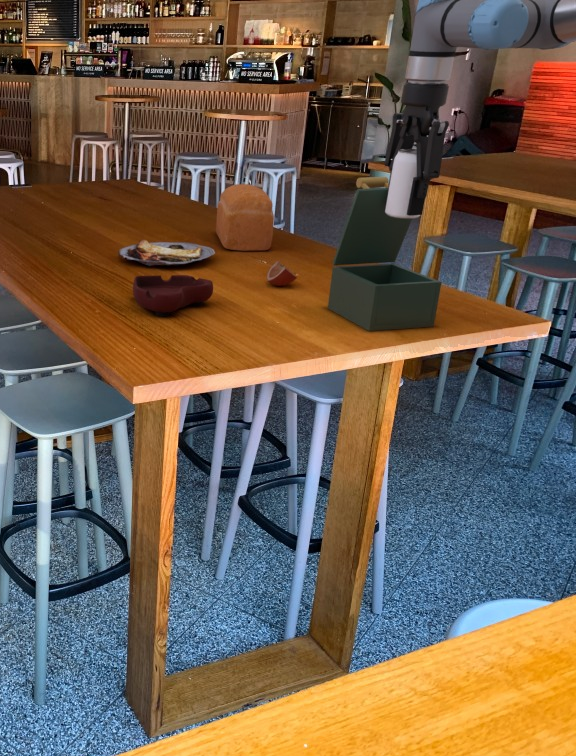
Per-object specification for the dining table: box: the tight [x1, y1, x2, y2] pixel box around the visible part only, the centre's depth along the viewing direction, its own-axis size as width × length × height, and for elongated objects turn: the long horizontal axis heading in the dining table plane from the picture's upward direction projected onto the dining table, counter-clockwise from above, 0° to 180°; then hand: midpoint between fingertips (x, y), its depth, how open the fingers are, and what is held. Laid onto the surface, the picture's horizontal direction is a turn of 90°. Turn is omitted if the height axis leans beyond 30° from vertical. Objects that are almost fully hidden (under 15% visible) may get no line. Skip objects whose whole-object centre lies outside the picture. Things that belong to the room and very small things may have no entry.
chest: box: [327, 262, 443, 332], centre depth 159 cm, size 16×14×9 cm
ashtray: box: [132, 274, 214, 318], centre depth 169 cm, size 18×16×5 cm
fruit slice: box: [266, 260, 298, 287], centre depth 184 cm, size 8×7×5 cm
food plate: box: [117, 239, 216, 267], centre depth 209 cm, size 25×23×4 cm
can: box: [385, 148, 424, 220], centre depth 149 cm, size 6×6×12 cm
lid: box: [332, 176, 413, 266], centre depth 162 cm, size 17×14×8 cm
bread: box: [215, 183, 275, 252], centre depth 228 cm, size 14×26×16 cm, turn 175°
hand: (403, 210), depth 151 cm, fingers closed on can, 6 cm apart
